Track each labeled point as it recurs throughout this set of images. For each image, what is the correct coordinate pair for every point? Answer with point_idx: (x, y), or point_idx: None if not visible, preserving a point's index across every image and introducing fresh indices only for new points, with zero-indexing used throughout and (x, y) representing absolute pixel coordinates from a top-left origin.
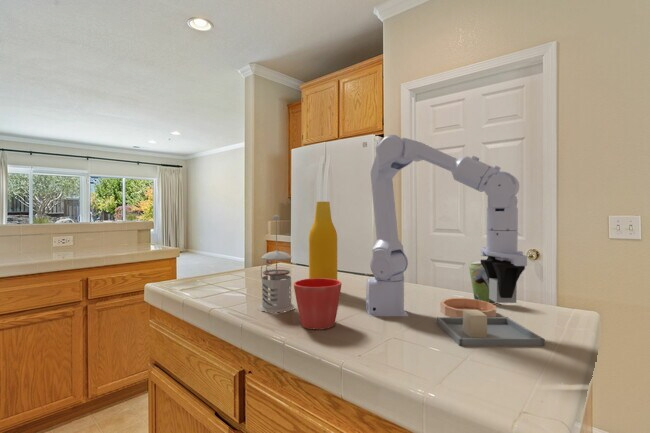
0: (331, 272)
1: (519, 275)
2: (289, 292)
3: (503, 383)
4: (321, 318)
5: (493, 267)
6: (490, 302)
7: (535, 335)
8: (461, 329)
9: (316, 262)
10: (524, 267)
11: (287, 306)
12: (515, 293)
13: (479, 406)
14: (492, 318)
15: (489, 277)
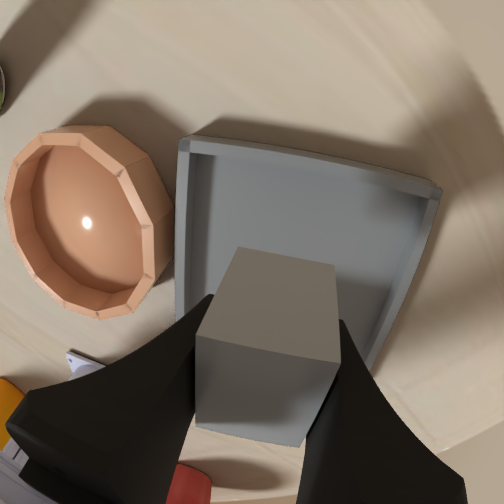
0: (4, 425)
1: (414, 437)
2: None
3: (486, 381)
4: (209, 495)
5: (162, 473)
6: (3, 88)
7: (407, 191)
8: None
9: None
10: (465, 491)
11: None
12: (334, 303)
13: (492, 421)
14: (185, 209)
15: (189, 425)
